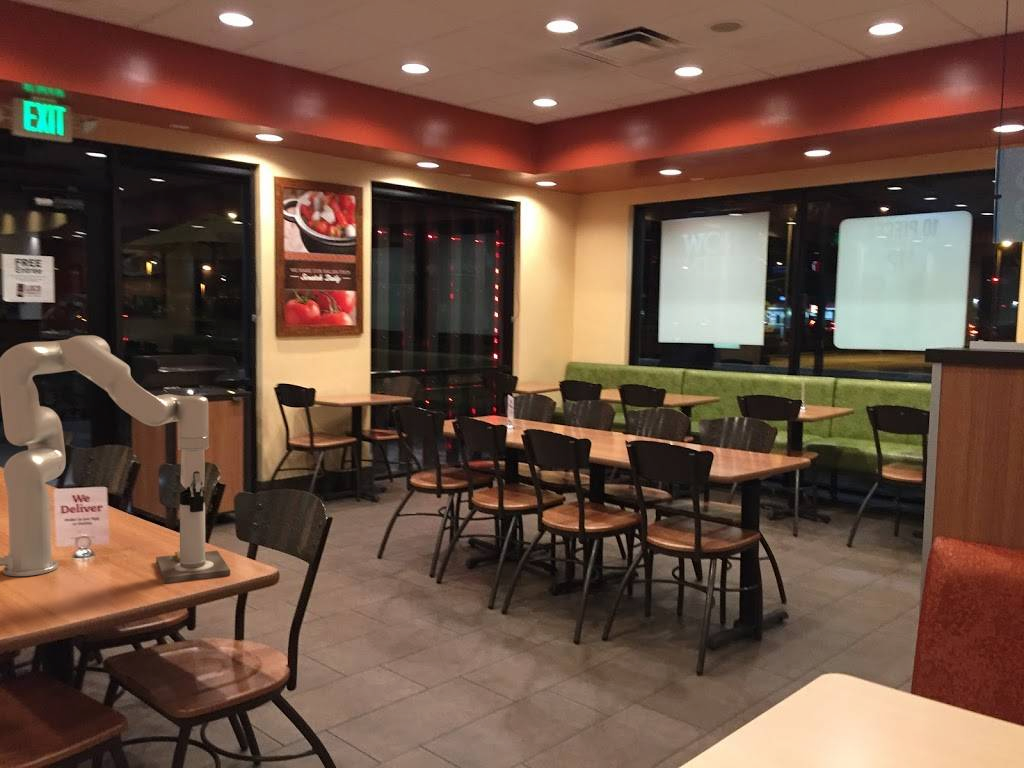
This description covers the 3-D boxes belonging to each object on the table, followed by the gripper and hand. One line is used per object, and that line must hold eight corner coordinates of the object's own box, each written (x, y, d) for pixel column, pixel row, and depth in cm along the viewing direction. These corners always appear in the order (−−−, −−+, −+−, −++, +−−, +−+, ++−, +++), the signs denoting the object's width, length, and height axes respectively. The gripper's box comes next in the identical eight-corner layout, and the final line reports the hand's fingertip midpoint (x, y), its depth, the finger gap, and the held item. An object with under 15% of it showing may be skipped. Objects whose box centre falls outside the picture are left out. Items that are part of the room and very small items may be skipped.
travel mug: (210, 562, 225) (209, 488, 224) (198, 569, 219) (198, 493, 217) (187, 560, 226) (187, 487, 224) (175, 568, 219) (174, 492, 218)
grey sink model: (164, 583, 212) (164, 561, 212) (156, 562, 230) (156, 541, 230) (230, 575, 220) (230, 554, 220) (217, 555, 238) (217, 535, 238)
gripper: (174, 439, 225) (174, 502, 227) (182, 448, 210) (182, 516, 212) (203, 438, 229) (203, 500, 230) (213, 447, 214) (214, 513, 215)
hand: (193, 507), depth 221 cm, fingers open, 9 cm apart
